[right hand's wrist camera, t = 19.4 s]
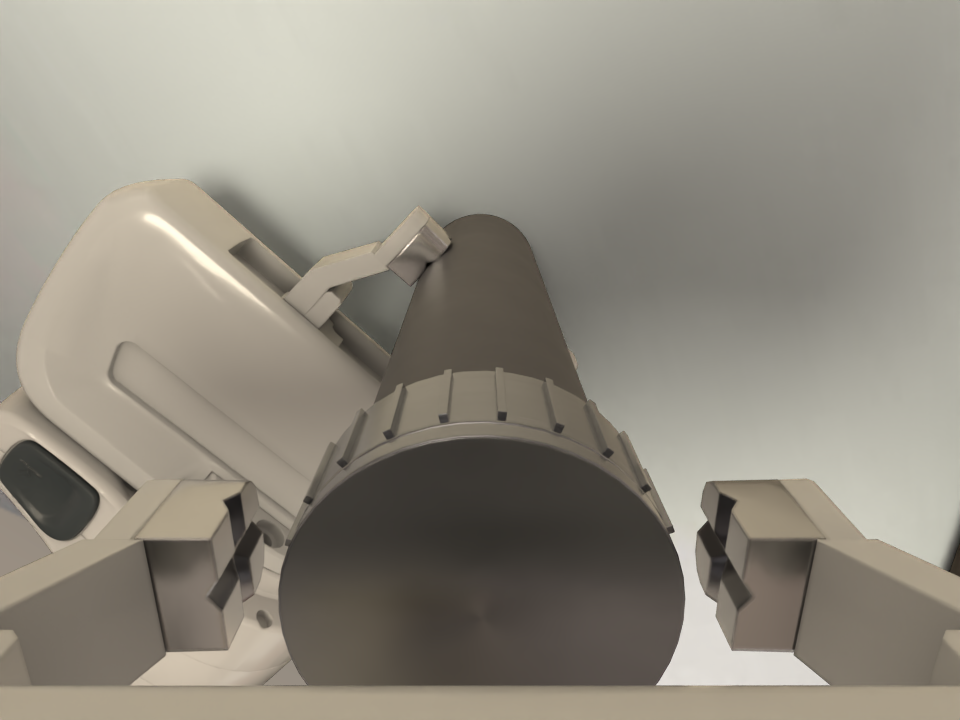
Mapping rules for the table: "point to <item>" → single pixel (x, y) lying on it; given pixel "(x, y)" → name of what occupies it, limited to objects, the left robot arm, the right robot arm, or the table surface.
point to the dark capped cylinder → (481, 313)
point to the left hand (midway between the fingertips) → (499, 285)
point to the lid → (481, 545)
